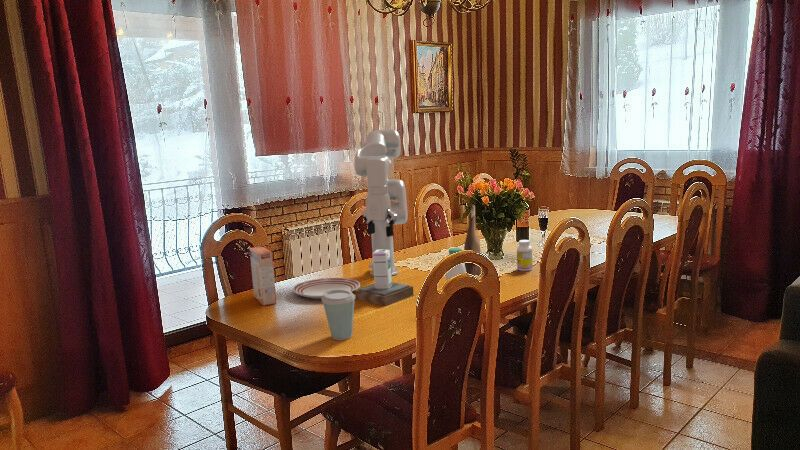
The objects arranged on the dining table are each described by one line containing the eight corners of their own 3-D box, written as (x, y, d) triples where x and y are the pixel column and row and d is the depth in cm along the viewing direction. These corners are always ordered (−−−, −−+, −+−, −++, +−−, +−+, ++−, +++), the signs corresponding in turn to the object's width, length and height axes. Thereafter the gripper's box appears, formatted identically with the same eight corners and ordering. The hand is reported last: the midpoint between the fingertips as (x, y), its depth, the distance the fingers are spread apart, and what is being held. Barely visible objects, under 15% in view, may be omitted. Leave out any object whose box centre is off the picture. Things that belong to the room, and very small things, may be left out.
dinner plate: (338, 280, 262) (338, 272, 261) (373, 292, 240) (373, 284, 239) (281, 293, 246) (281, 285, 245) (313, 308, 224) (312, 299, 224)
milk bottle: (446, 304, 219) (443, 251, 215) (447, 298, 226) (445, 246, 223) (467, 304, 217) (465, 251, 214) (467, 297, 225) (465, 246, 221)
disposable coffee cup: (363, 332, 194) (360, 288, 192) (348, 344, 185) (344, 298, 182) (335, 329, 199) (332, 286, 196) (318, 341, 189) (314, 296, 186)
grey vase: (456, 283, 246) (453, 207, 239) (463, 275, 257) (460, 202, 250) (483, 285, 242) (480, 208, 235) (488, 276, 253) (486, 202, 246)
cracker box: (277, 303, 232) (272, 251, 228) (262, 306, 229) (257, 253, 225) (268, 295, 244) (263, 245, 240) (253, 297, 241) (248, 247, 238)
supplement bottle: (516, 267, 264) (515, 239, 262) (531, 267, 264) (530, 238, 262) (518, 271, 258) (517, 242, 255) (533, 271, 257) (533, 242, 255)
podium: (355, 299, 232) (355, 289, 231) (384, 289, 243) (383, 279, 242) (385, 306, 221) (384, 295, 220) (413, 295, 232) (413, 285, 232)
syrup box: (389, 289, 228) (387, 252, 226) (374, 289, 230) (372, 252, 227) (392, 284, 234) (390, 249, 231) (378, 284, 235) (375, 249, 232)
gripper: (354, 190, 228) (358, 234, 231) (387, 193, 216) (390, 239, 219) (368, 188, 233) (371, 230, 236) (401, 190, 222) (404, 235, 225)
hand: (380, 234), depth 228 cm, fingers open, 9 cm apart
